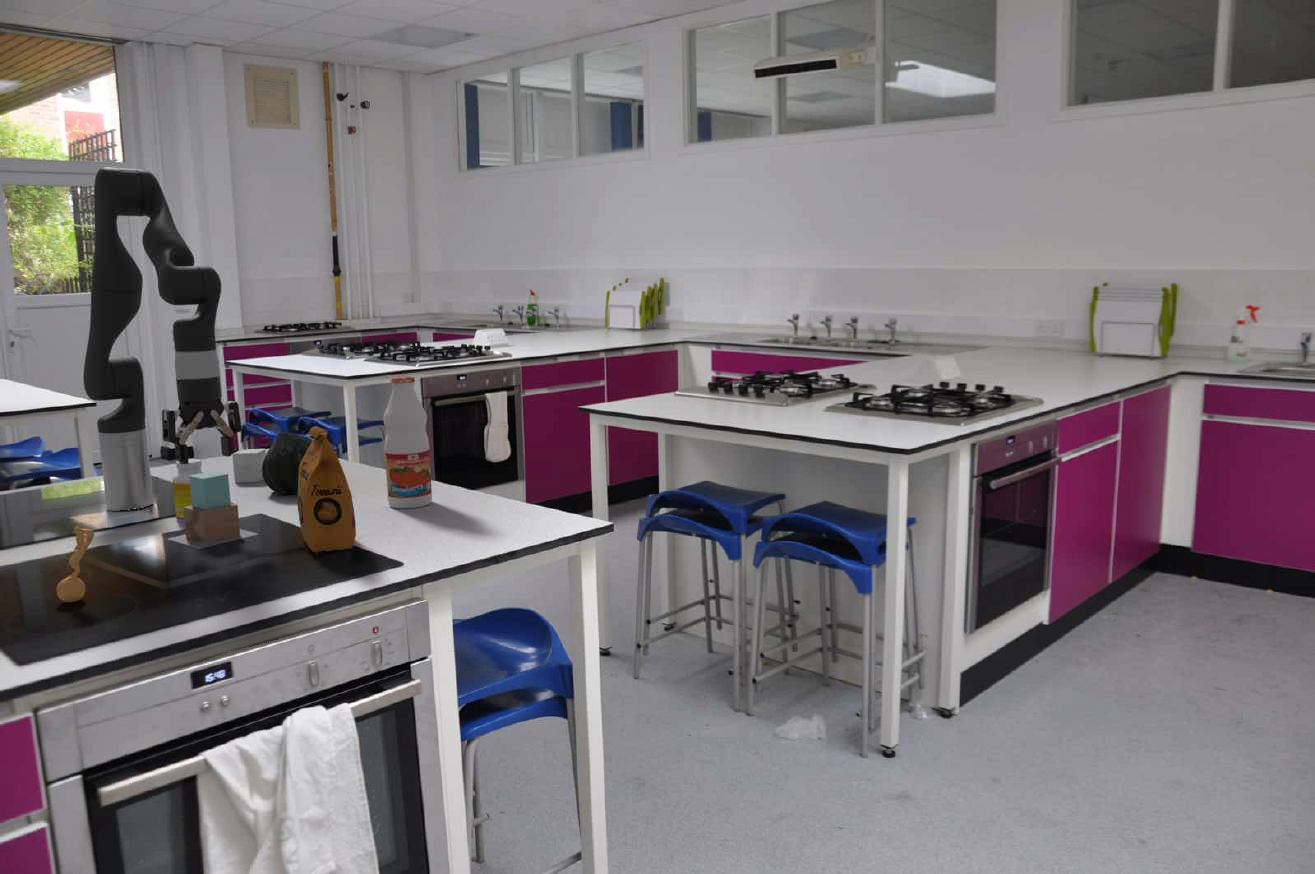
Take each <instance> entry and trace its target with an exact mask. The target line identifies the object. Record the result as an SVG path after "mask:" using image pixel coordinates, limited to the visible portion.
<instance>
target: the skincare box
mask: <svg viewBox="0 0 1315 874" xmlns="http://www.w3.org/2000/svg"><path fill="white" fill-rule="evenodd" d="M266 451H267V450H266V448H251V449H250V448H245V449H244V448H242V449H241V450H237V451H236V452H233V453H231V457H232V465H233V468H232V469H233V477H234V478H233V479H234V480H233V481H234V483H236V484H237V483H240V484H241V483H242V484H243V483H260V482H261V481H264V479H263V476H262V464H263V461H264V458H265V456H266V454H267V452H266Z"/></svg>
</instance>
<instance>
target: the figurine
mask: <svg viewBox="0 0 1315 874" xmlns="http://www.w3.org/2000/svg"><path fill="white" fill-rule="evenodd" d="M72 532H73V534H74V535H76V536H75V541H76V546H75V547H74V548H73V549H74V550H73V552H74V553H73V554H72V555H71V556H70V557H69V559H68V560H69V561H68V563H69V565H70V567H71V568H73V570H74V572H72V574H69V575H68V576H67V577H65V578H63V579H61V581H59V582H58V584H57V586H56V594H57V597H58V598H59V599H60V600H61V601H63V602H65V603H74V602H78V601H79V600H81V599H82V598H83V597H84V595H85V593H86V584H85V583H84V581H83V580H82V579H80V577H79V578H78V575H79V574H80V572H81V570H80V569H81V567H80V560H82V558H83V556H84V555H85V553H86V551H87V550H88V547H89V546H90V545H91V543H92V542H93V540H94V537H95V532H94V530H93V529H91V528H83V527H82V528H81V527H80V526H75V527H74V528H73V531H72Z"/></svg>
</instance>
